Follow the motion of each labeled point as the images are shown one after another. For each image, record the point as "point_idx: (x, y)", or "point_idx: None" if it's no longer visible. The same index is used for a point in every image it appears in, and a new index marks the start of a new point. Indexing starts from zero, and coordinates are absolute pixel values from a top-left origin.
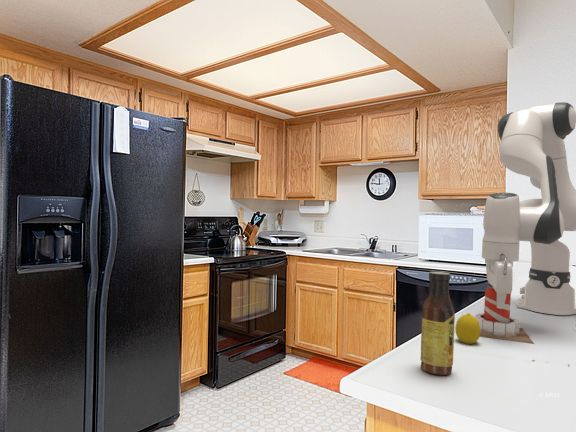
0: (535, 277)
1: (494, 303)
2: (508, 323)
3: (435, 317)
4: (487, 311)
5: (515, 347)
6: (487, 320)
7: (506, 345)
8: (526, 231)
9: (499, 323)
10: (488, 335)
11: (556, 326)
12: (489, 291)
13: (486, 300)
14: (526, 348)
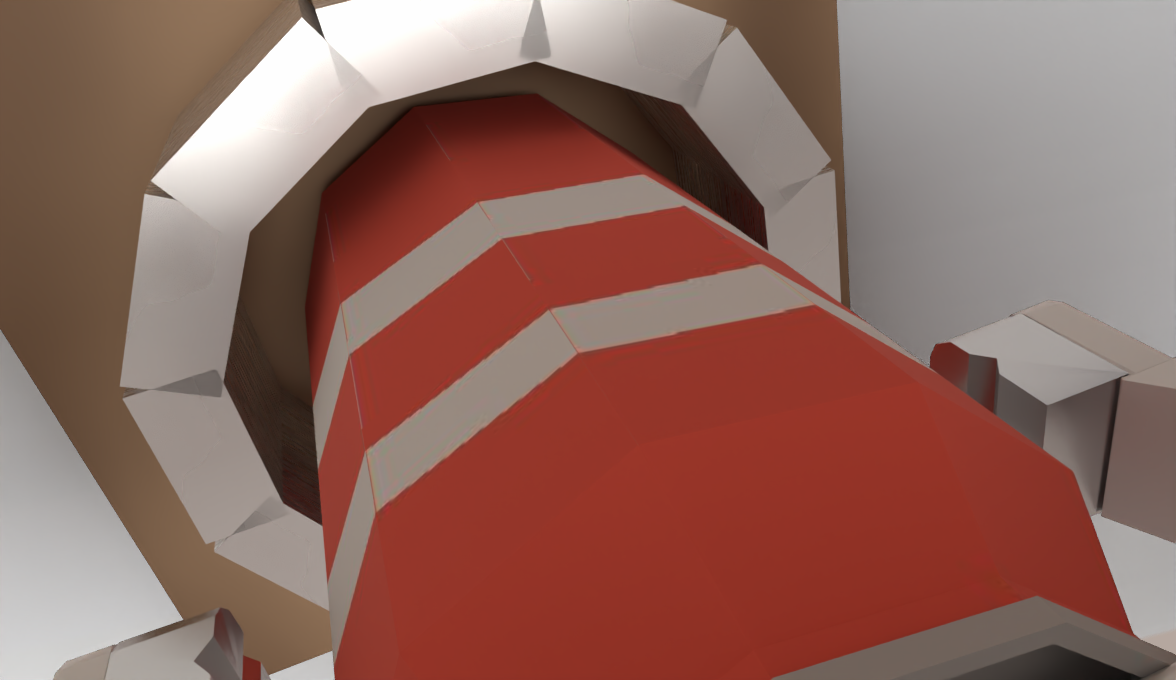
0: None
1: (337, 568)
2: (283, 565)
3: None
4: (379, 286)
5: (45, 539)
6: (185, 272)
7: (32, 451)
8: None
9: (167, 469)
10: (107, 232)
11: (1152, 564)
12: (482, 676)
13: (471, 363)
14: (128, 617)
